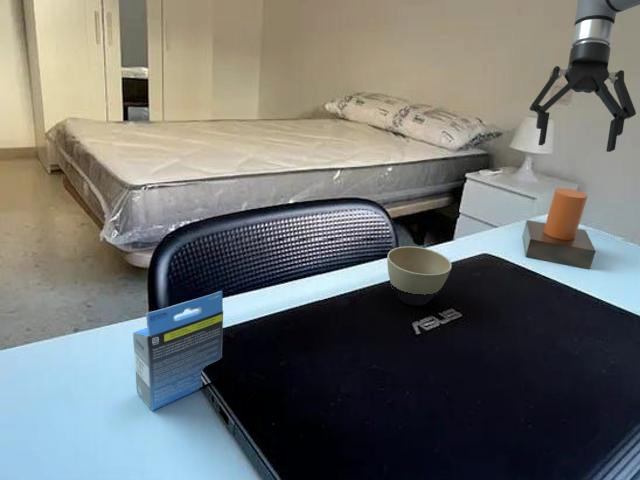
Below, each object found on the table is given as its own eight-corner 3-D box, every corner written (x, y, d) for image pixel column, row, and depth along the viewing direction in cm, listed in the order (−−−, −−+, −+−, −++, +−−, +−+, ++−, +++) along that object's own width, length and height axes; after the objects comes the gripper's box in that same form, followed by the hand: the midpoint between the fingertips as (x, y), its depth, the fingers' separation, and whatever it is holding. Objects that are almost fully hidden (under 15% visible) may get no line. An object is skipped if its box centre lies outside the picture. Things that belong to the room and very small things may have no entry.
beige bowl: (369, 296, 81) (374, 256, 78) (404, 278, 87) (410, 241, 85) (421, 323, 74) (430, 280, 72) (454, 301, 81) (463, 262, 79)
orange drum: (572, 232, 105) (585, 191, 102) (576, 242, 100) (590, 199, 96) (542, 226, 107) (553, 186, 103) (544, 236, 101) (556, 194, 98)
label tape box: (205, 364, 61) (204, 275, 57) (223, 381, 59) (224, 290, 54) (136, 393, 56) (128, 297, 51) (152, 414, 53) (146, 315, 48)
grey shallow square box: (580, 247, 109) (585, 230, 107) (589, 269, 98) (595, 250, 96) (522, 236, 112) (526, 219, 110) (525, 256, 101) (530, 238, 99)
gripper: (647, 57, 106) (632, 156, 107) (524, 50, 112) (511, 144, 112) (664, 43, 99) (648, 150, 100) (531, 36, 104) (517, 137, 105)
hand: (575, 147), depth 106 cm, fingers open, 13 cm apart
